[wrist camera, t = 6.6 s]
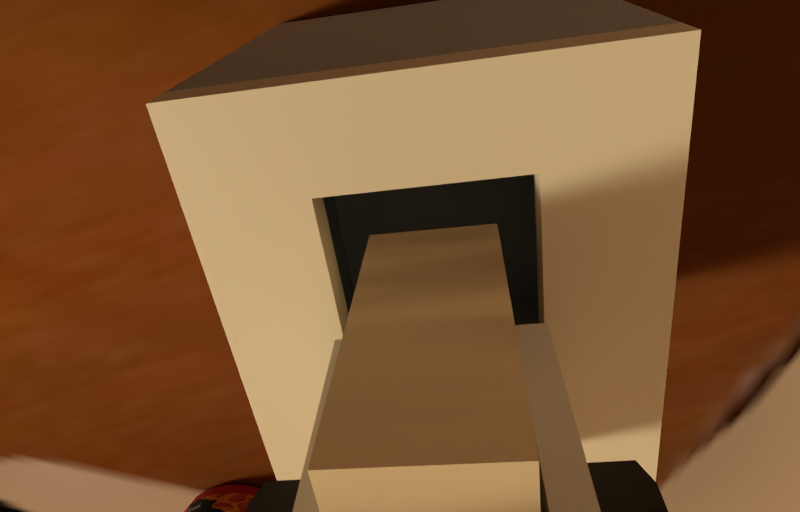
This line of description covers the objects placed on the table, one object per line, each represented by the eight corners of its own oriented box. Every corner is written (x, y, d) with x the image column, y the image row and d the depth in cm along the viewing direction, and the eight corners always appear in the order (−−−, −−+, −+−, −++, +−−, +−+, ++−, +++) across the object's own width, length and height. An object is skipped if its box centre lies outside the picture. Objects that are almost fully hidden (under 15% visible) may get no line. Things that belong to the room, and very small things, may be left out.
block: (369, 235, 14) (307, 470, 8) (497, 223, 13) (538, 461, 7) (407, 448, 17) (385, 734, 11) (511, 444, 17) (548, 737, 11)
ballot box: (280, 23, 23) (145, 103, 12) (571, -20, 21) (701, 30, 11) (346, 319, 29) (296, 536, 19) (571, 300, 28) (651, 521, 18)
